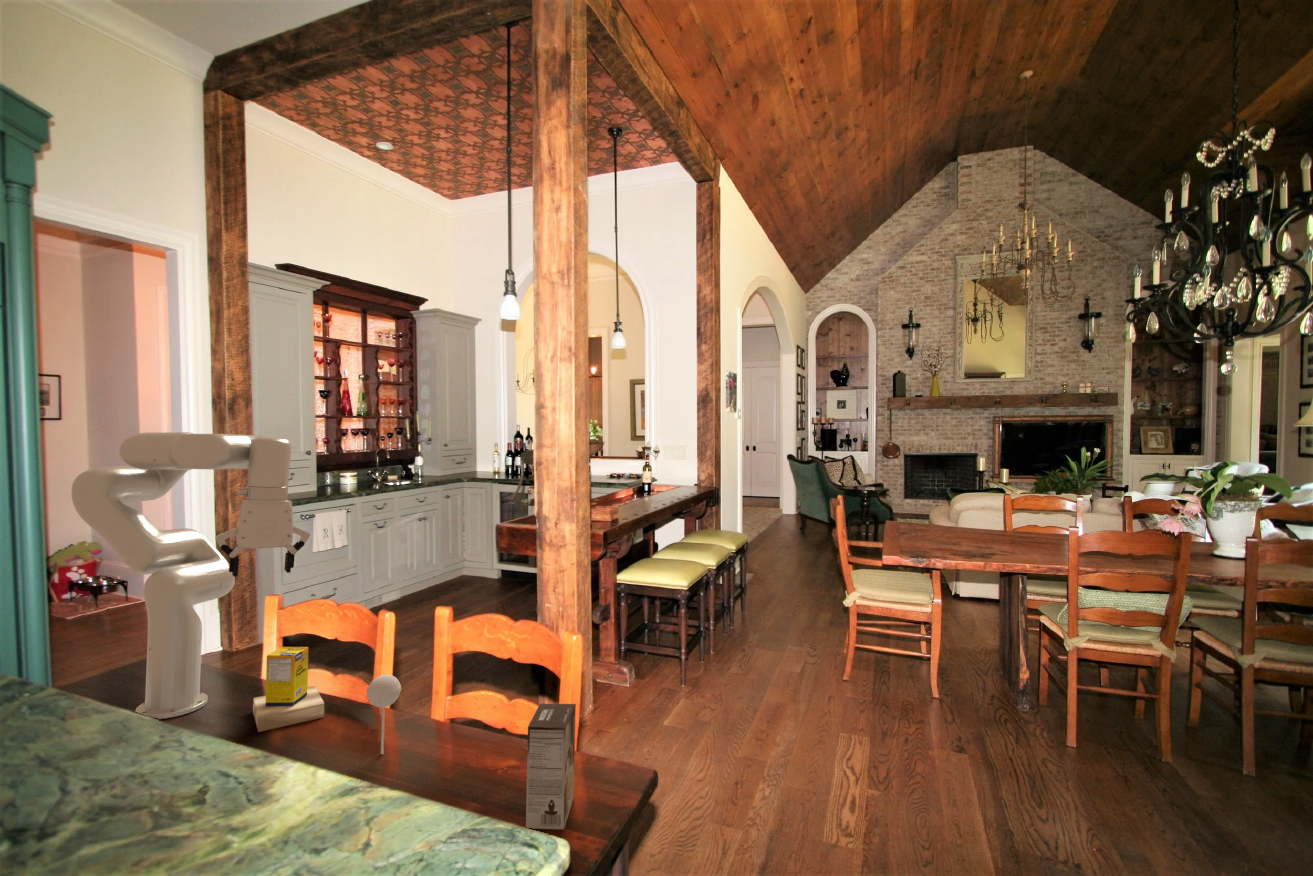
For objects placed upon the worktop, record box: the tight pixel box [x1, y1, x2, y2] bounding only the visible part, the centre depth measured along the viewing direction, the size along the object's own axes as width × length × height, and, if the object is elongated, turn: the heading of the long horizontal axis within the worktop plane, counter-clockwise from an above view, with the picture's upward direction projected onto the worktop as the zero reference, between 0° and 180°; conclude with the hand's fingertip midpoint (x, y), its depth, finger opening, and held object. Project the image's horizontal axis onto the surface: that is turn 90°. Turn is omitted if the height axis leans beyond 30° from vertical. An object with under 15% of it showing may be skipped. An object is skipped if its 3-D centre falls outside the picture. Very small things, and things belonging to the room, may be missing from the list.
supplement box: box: [265, 646, 309, 706], centre depth 133 cm, size 6×6×11 cm
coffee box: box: [525, 703, 577, 830], centre depth 100 cm, size 9×6×16 cm
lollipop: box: [366, 674, 402, 755], centre depth 117 cm, size 6×6×15 cm
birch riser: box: [252, 685, 325, 733], centre depth 133 cm, size 12×12×3 cm
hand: (261, 573), depth 131 cm, fingers open, 9 cm apart
